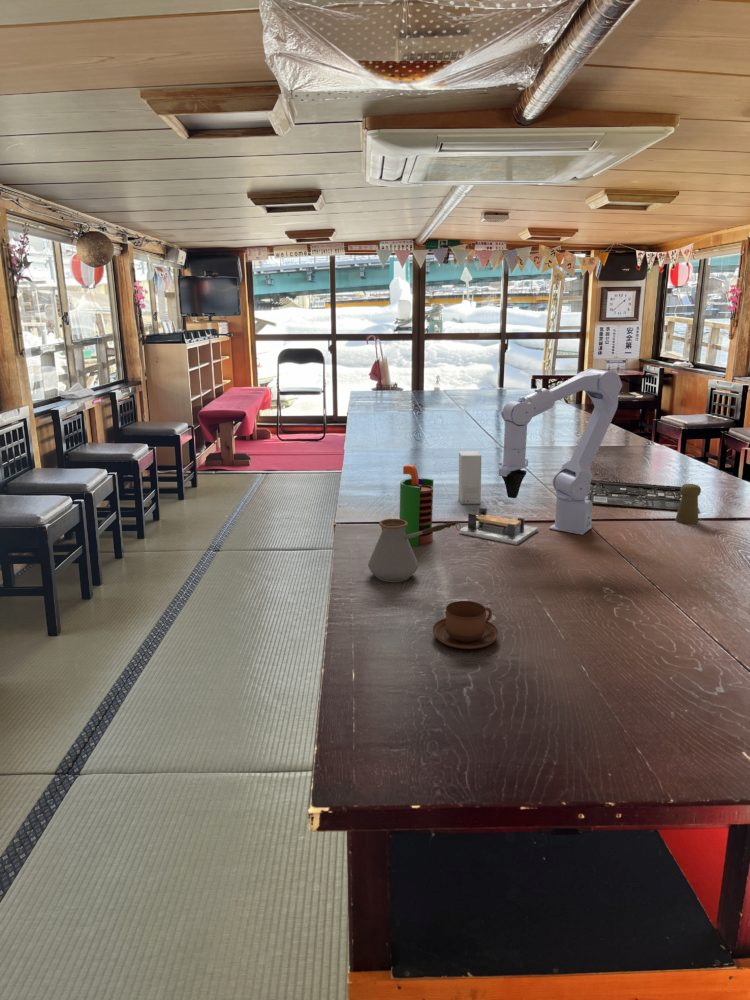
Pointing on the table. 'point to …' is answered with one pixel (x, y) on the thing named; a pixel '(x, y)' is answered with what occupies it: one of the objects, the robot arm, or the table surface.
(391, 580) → the coffee pot
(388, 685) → the table surface
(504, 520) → the wooden board
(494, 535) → the wooden bar fixture
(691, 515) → the cork
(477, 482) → the skincare box
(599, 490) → the laptop interior
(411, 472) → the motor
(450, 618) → the cup and saucer
